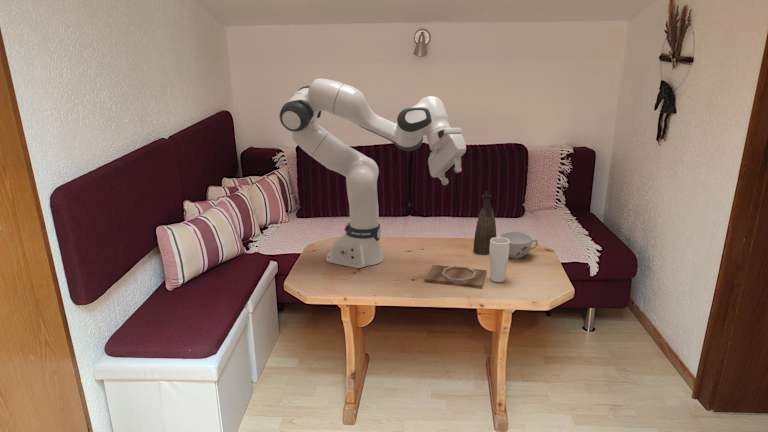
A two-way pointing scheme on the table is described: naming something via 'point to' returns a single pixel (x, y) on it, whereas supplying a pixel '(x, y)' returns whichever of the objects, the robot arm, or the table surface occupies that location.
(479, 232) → the statue
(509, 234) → the teacup
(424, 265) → the table surface
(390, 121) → the robot arm
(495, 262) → the drinking glass
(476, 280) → the walnut board
